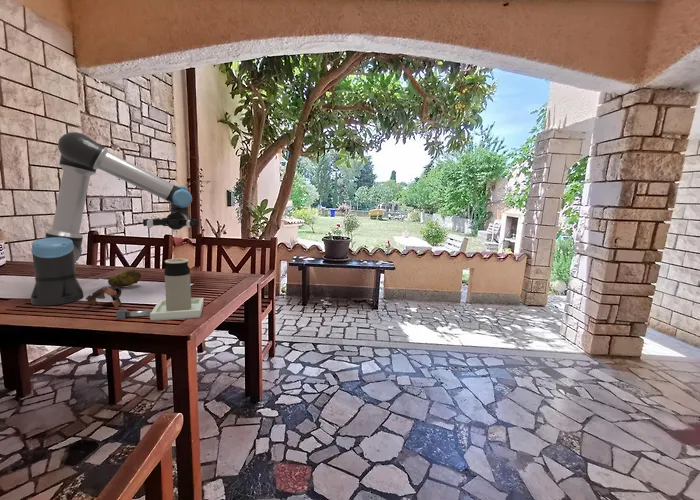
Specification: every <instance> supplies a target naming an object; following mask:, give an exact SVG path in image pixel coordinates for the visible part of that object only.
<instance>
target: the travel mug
mask: <svg viewBox="0 0 700 500" xmlns="http://www.w3.org/2000/svg"><path fill="white" fill-rule="evenodd" d="M189 261H190V260H189V259H188V258H170V259H166V260H164V263H165V265H166V266H165V268H164V289H165V290H164V291H165V300H166V310H167V311H181V310H189V309H191V299H192V291H191V290H192V289H191V269H190V267H189V265H188V264H189Z"/></svg>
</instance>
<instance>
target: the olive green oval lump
mask: <svg viewBox="0 0 700 500" xmlns="http://www.w3.org/2000/svg"><path fill="white" fill-rule="evenodd" d="M141 277H142V274H141V273H140V271H138V270H136V269H126V270H123V271H122V272H120V273H118V274H115V275H113V276H111V277H109V278H108V280H107V284H108V285H109V286H111V287H119V288H121V287H123V288H124V287H129V286H132V285H134V284H138V282H139V281H140V280H141Z"/></svg>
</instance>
